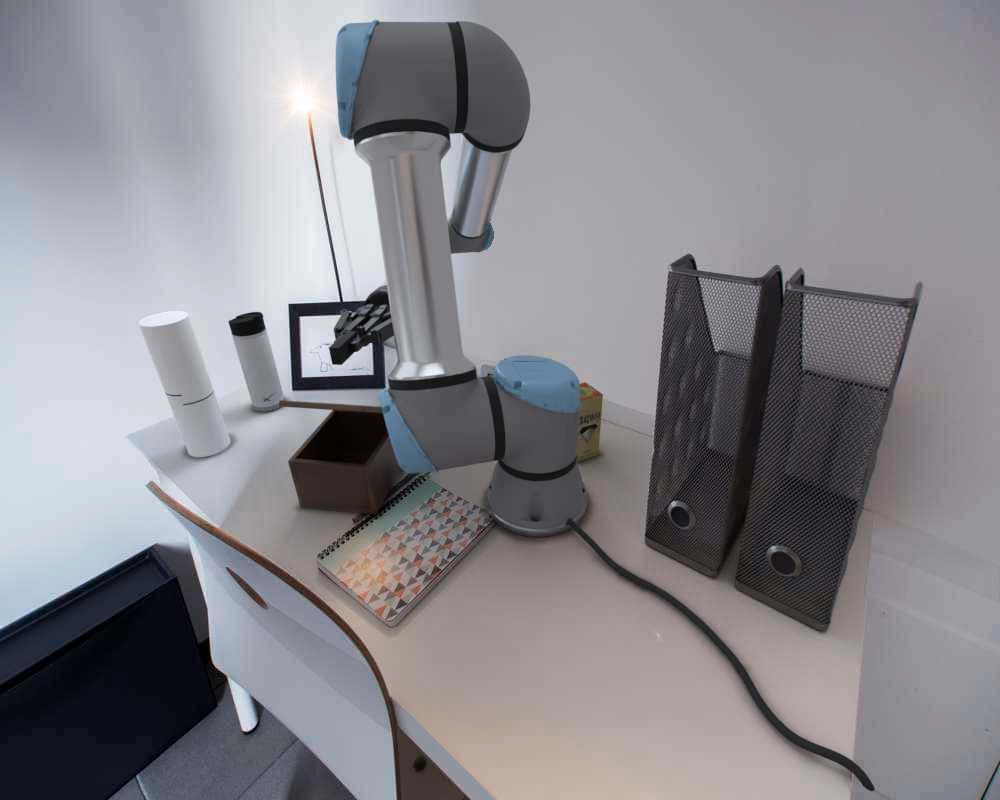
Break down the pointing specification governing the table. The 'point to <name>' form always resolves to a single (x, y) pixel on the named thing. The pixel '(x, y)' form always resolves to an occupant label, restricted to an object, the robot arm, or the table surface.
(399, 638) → the table surface
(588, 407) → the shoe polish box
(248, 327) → the travel mug
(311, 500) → the keepsake box
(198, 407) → the cylindrical container
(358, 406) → the lid
